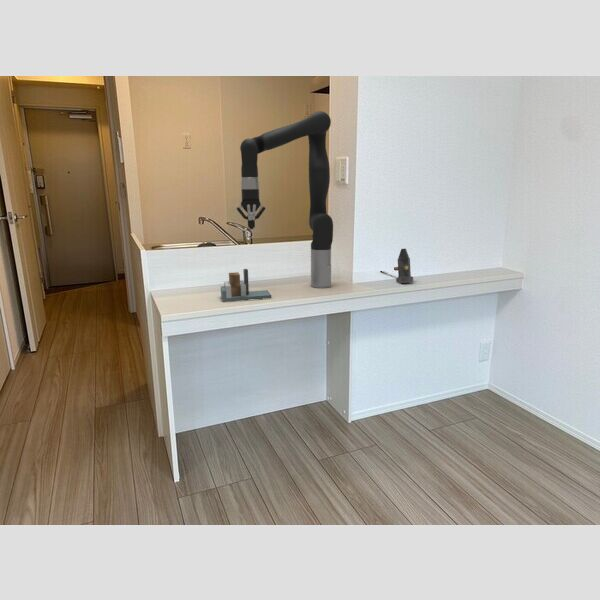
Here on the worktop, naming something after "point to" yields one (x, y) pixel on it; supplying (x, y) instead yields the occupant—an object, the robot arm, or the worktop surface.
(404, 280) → the dark tapered tower
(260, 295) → the vise
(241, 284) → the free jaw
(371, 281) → the worktop surface
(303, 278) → the worktop surface
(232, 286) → the block
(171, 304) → the worktop surface
